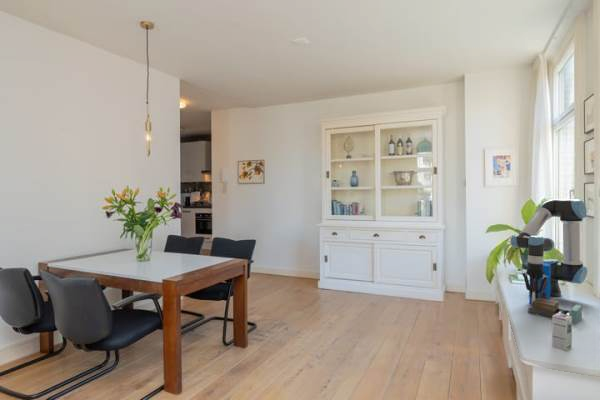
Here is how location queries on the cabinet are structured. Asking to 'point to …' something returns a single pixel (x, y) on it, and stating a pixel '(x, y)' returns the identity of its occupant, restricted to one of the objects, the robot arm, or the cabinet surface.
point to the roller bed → (548, 314)
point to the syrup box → (562, 331)
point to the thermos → (546, 289)
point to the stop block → (576, 313)
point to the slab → (545, 305)
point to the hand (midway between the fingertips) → (534, 303)
